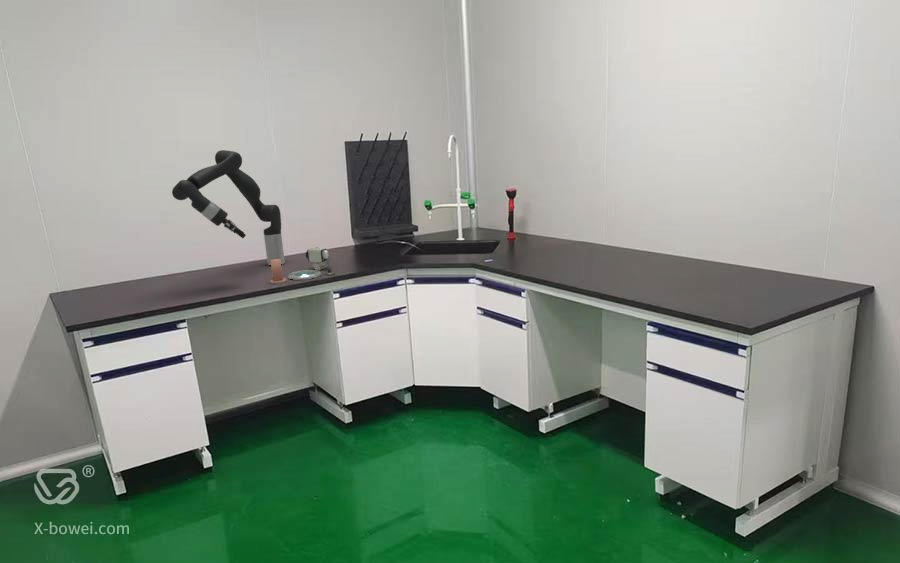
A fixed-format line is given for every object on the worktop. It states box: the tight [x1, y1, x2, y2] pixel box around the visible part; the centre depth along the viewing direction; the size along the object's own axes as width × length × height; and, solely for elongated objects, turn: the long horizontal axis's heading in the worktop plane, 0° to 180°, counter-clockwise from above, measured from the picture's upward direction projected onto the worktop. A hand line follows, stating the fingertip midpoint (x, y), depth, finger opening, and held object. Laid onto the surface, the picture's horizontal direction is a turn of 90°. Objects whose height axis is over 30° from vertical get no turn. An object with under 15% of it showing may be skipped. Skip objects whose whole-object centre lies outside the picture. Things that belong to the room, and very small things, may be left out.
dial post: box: [322, 249, 335, 276], centre depth 291 cm, size 4×4×13 cm
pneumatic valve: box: [305, 246, 328, 271], centre depth 303 cm, size 6×12×12 cm, turn 69°
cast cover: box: [269, 259, 288, 284], centre depth 280 cm, size 8×8×11 cm
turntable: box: [287, 269, 322, 281], centre depth 290 cm, size 16×16×2 cm
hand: (243, 235), depth 272 cm, fingers open, 8 cm apart
